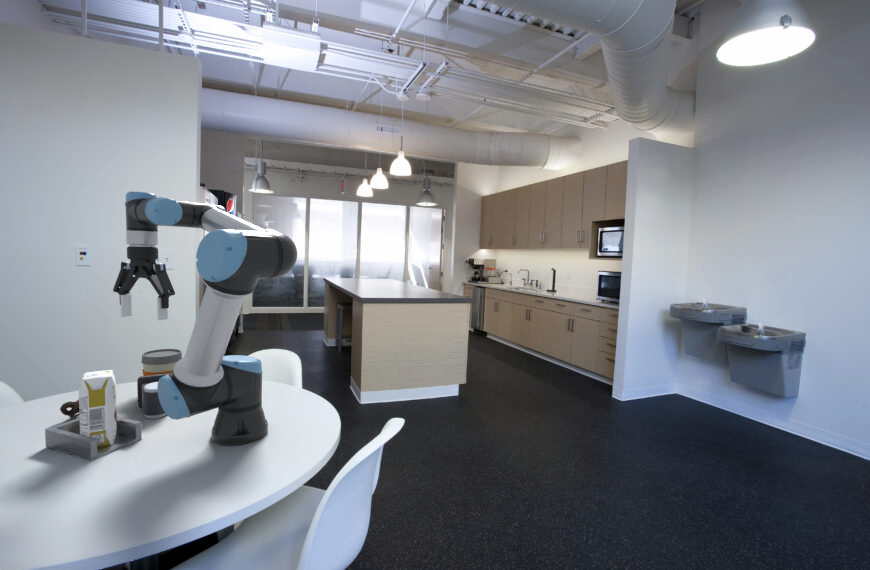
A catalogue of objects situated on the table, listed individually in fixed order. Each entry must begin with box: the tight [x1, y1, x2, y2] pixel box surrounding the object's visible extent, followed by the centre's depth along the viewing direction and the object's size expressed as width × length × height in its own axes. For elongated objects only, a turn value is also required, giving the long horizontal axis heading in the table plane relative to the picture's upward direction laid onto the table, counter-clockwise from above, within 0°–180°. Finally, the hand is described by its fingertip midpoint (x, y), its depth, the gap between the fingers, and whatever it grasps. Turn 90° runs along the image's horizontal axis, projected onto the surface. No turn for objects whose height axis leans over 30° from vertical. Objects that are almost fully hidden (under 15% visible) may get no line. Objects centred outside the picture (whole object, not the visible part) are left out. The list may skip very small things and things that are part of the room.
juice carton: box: [78, 369, 118, 447], centre depth 113 cm, size 8×9×19 cm
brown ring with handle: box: [59, 398, 79, 419], centre depth 130 cm, size 12×10×8 cm
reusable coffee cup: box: [140, 348, 183, 376], centre depth 152 cm, size 13×13×15 cm
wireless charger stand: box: [136, 373, 172, 419], centre depth 136 cm, size 11×13×11 cm
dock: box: [44, 415, 143, 461], centre depth 114 cm, size 18×13×5 cm
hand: (144, 318), depth 123 cm, fingers open, 13 cm apart
